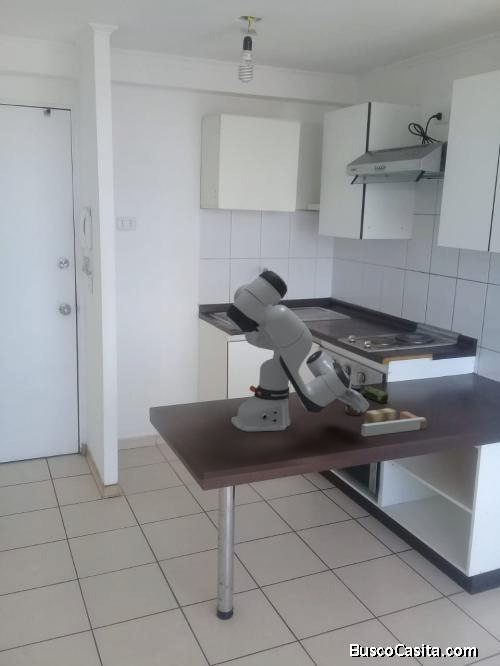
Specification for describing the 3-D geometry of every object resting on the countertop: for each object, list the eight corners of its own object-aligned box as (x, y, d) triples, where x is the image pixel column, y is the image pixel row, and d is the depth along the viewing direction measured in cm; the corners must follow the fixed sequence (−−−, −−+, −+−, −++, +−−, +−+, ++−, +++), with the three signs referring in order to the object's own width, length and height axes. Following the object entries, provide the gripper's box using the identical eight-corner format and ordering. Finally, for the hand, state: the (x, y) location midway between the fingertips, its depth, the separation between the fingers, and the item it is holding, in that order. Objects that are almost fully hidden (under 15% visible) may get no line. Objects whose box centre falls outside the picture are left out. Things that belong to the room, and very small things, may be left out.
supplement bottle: (343, 413, 245) (345, 387, 242) (348, 410, 250) (350, 383, 248) (357, 416, 242) (360, 389, 240) (362, 412, 247) (364, 386, 245)
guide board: (364, 436, 220) (365, 426, 220) (345, 425, 231) (346, 415, 230) (425, 428, 232) (427, 418, 231) (405, 418, 243) (406, 408, 242)
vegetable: (390, 403, 263) (391, 392, 262) (381, 404, 260) (382, 393, 259) (367, 394, 274) (368, 383, 273) (358, 395, 271) (359, 385, 270)
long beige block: (371, 432, 225) (372, 414, 224) (364, 429, 229) (365, 411, 227) (395, 428, 231) (397, 410, 230) (388, 425, 235) (389, 407, 233)
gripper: (360, 386, 208) (381, 411, 214) (329, 372, 227) (349, 396, 232) (348, 400, 207) (369, 424, 213) (318, 384, 226) (338, 408, 231)
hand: (358, 409), depth 223 cm, fingers closed
